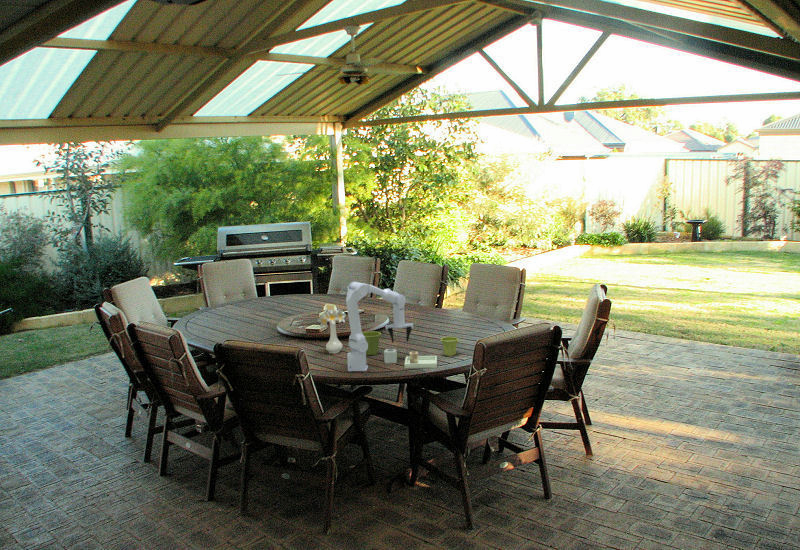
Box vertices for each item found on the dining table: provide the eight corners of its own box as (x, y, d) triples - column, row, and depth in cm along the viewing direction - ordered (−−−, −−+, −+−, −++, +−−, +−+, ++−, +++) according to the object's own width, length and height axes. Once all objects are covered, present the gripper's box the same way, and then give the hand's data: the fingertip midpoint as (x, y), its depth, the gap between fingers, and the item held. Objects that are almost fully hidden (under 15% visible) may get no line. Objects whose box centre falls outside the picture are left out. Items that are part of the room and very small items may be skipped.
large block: (384, 363, 325) (384, 352, 324) (385, 360, 331) (385, 349, 330) (396, 363, 324) (395, 351, 324) (397, 359, 330) (396, 348, 330)
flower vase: (316, 356, 343) (313, 311, 340) (331, 347, 360) (328, 305, 357) (337, 357, 339) (335, 312, 335) (352, 348, 356) (349, 305, 352)
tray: (404, 369, 313) (404, 364, 313) (406, 361, 327) (406, 356, 327) (436, 368, 312) (436, 363, 312) (436, 360, 326) (436, 355, 326)
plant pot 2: (456, 351, 341) (455, 336, 339) (460, 356, 332) (460, 340, 330) (439, 353, 339) (438, 337, 338) (443, 357, 330) (442, 341, 329)
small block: (410, 365, 317) (409, 353, 316) (410, 363, 321) (409, 351, 320) (418, 365, 317) (417, 353, 316) (418, 362, 321) (417, 351, 320)
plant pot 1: (379, 356, 337) (378, 336, 336) (358, 356, 340) (356, 336, 338) (384, 350, 349) (383, 331, 347) (363, 350, 351) (362, 331, 349)
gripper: (385, 318, 323) (386, 344, 325) (413, 317, 324) (414, 342, 326) (384, 316, 330) (386, 341, 332) (412, 314, 331) (413, 339, 333)
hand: (400, 341), depth 330 cm, fingers open, 7 cm apart
